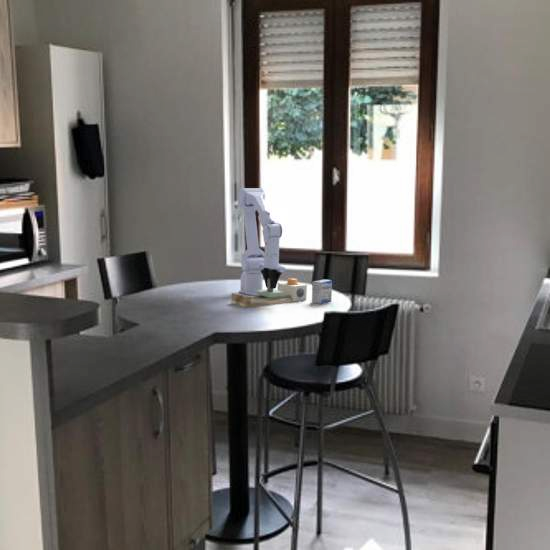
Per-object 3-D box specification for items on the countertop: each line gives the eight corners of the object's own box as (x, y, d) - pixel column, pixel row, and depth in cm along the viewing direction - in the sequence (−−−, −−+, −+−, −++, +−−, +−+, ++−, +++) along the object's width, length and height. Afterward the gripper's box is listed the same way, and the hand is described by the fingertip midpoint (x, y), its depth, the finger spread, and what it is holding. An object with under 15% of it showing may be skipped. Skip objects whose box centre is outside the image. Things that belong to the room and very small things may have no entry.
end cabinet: (277, 297, 306) (277, 282, 305) (290, 295, 311) (290, 281, 310) (293, 301, 298) (294, 286, 297) (306, 299, 303) (307, 285, 302)
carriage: (257, 294, 298) (257, 278, 297) (270, 292, 302) (271, 276, 301) (269, 297, 292) (269, 281, 291) (283, 295, 296) (283, 279, 295)
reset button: (285, 292, 304) (285, 278, 304) (292, 291, 307) (292, 277, 306) (291, 294, 301) (291, 280, 300) (298, 293, 304) (299, 279, 303)
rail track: (231, 303, 292) (232, 293, 291) (277, 297, 306) (277, 287, 306) (247, 307, 284) (247, 297, 283) (293, 301, 299) (293, 291, 298)
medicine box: (320, 304, 294) (321, 282, 293) (311, 302, 297) (312, 281, 296) (331, 301, 301) (332, 280, 299) (322, 299, 303) (323, 278, 302)
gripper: (252, 252, 298) (251, 286, 300) (275, 256, 286) (274, 291, 289) (266, 251, 302) (265, 284, 304) (289, 255, 291) (288, 289, 293)
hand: (270, 287), depth 297 cm, fingers closed on carriage, 2 cm apart
